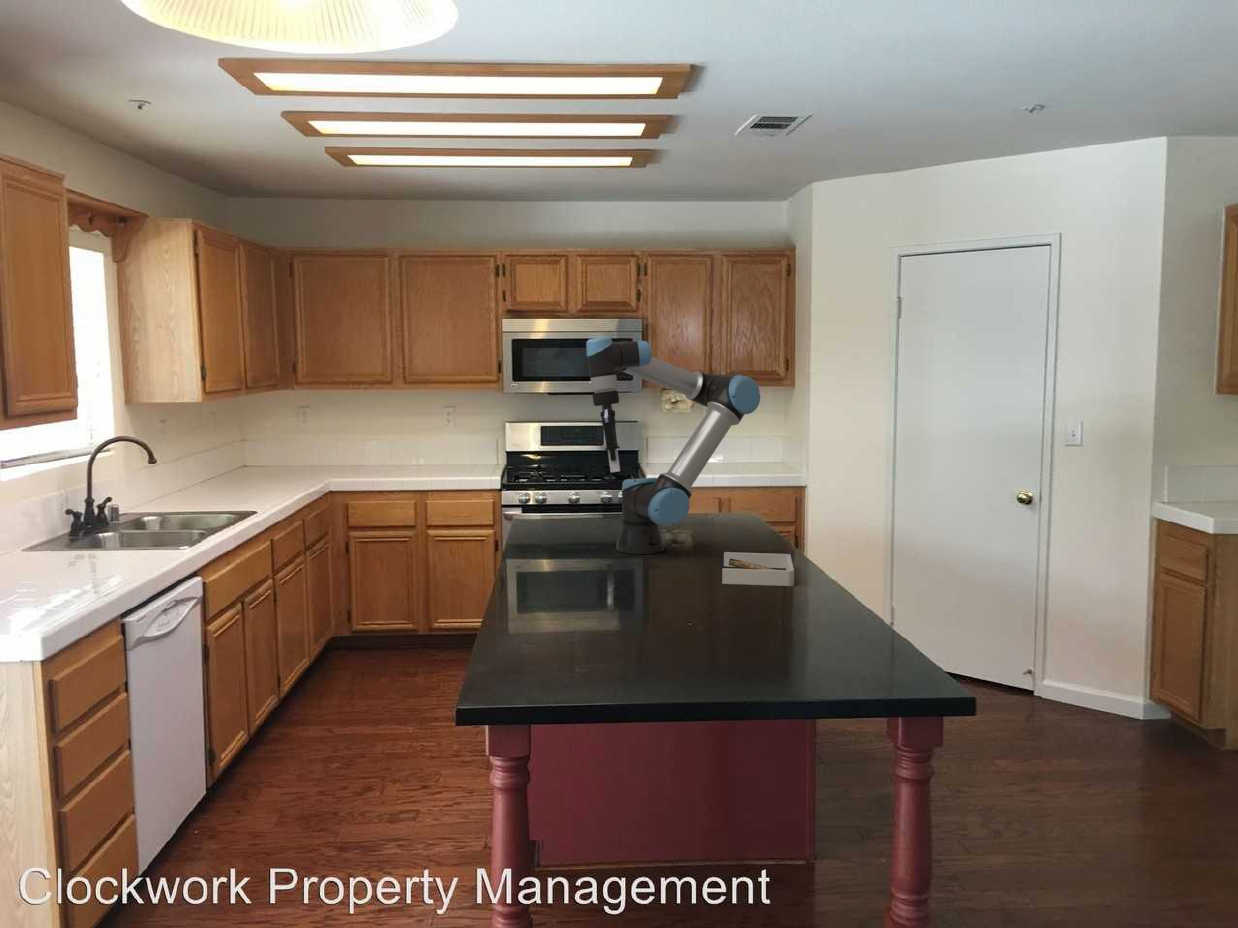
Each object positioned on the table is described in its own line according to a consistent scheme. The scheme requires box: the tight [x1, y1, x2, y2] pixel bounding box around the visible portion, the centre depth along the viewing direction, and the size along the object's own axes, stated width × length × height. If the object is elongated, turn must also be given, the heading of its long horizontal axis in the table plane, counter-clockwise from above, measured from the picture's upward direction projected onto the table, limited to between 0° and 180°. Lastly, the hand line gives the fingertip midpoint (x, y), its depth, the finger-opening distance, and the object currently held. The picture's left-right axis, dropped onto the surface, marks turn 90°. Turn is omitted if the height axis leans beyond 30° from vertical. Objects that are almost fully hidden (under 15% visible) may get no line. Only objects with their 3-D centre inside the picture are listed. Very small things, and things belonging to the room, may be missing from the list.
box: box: [721, 551, 795, 587], centre depth 261 cm, size 22×19×4 cm
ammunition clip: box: [729, 558, 775, 570], centre depth 257 cm, size 11×2×12 cm
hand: (615, 471), depth 269 cm, fingers closed
